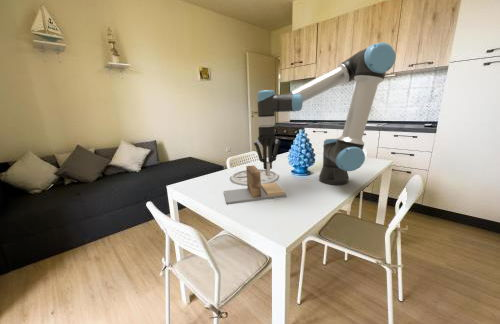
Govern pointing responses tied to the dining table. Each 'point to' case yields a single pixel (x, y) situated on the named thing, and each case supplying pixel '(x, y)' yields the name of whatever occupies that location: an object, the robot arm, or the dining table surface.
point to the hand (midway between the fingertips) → (267, 175)
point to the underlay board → (244, 196)
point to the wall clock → (241, 177)
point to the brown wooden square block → (253, 181)
